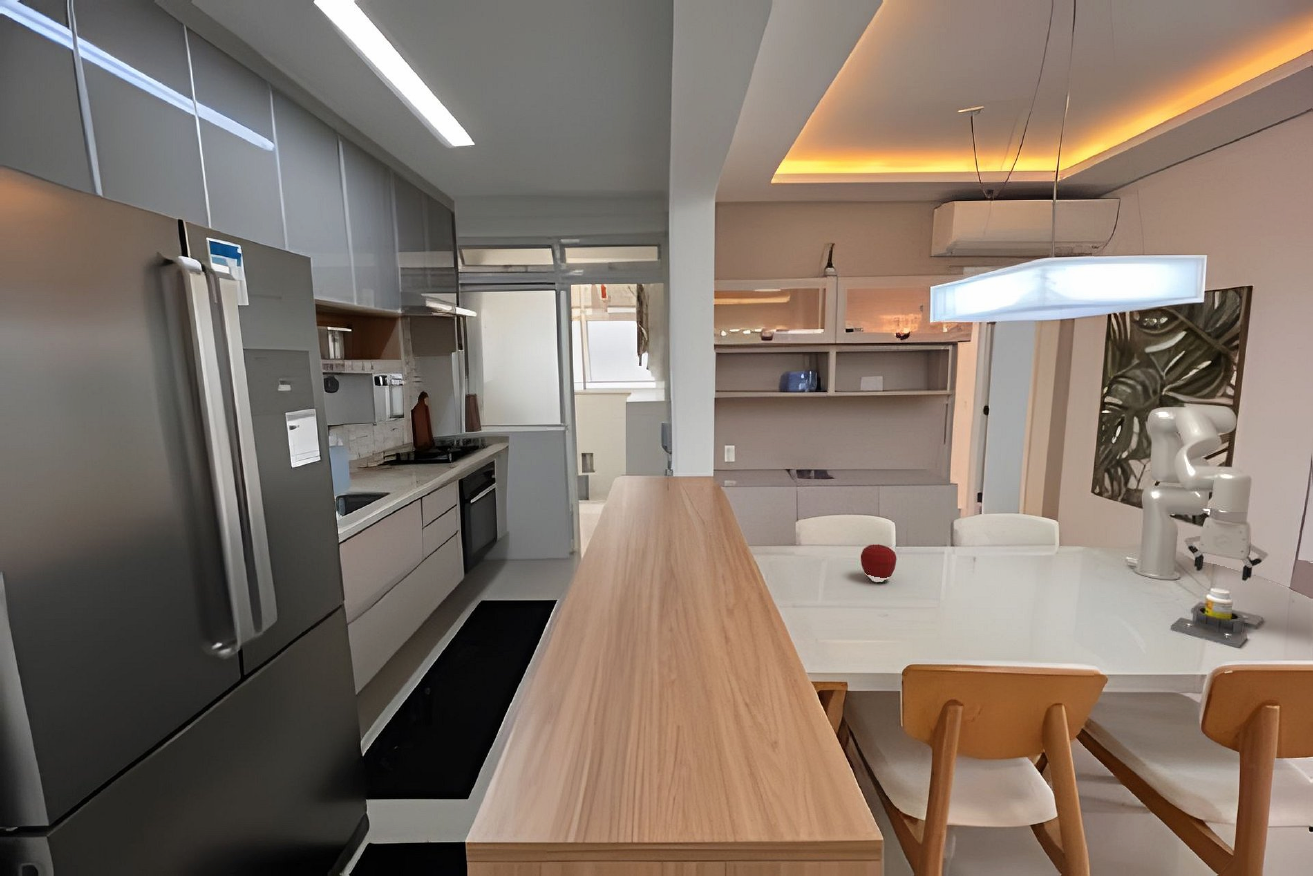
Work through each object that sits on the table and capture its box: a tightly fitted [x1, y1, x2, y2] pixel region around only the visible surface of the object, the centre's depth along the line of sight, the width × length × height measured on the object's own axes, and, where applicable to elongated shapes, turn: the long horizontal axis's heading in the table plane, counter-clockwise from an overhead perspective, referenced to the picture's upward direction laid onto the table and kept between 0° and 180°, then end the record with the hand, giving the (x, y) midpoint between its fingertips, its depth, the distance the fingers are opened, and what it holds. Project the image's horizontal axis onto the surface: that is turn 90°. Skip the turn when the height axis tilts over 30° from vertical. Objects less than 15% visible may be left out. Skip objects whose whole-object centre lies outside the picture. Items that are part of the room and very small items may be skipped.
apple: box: [860, 543, 898, 578], centre depth 210 cm, size 12×12×13 cm
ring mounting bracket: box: [1170, 601, 1264, 649], centre depth 171 cm, size 28×14×4 cm, turn 126°
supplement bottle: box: [1204, 587, 1234, 619], centre depth 171 cm, size 6×6×10 cm
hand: (1221, 574), depth 170 cm, fingers open, 9 cm apart
